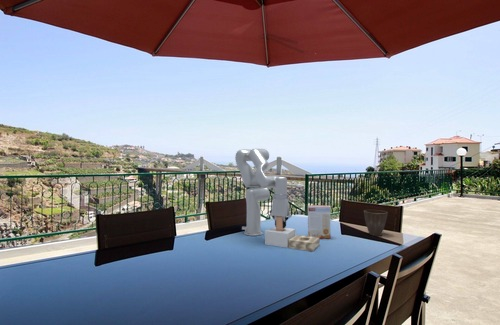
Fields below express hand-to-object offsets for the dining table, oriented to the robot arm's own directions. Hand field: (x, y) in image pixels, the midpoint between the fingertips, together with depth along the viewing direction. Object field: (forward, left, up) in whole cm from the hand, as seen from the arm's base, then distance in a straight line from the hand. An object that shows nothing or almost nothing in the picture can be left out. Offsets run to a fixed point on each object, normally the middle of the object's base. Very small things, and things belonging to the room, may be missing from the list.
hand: (280, 226), depth 176 cm
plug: (0, 0, -6) cm, 6 cm away
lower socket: (+15, 0, -10) cm, 18 cm away
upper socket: (0, 0, -10) cm, 10 cm away
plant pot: (+49, +52, -10) cm, 72 cm away
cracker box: (+17, +25, -10) cm, 32 cm away
